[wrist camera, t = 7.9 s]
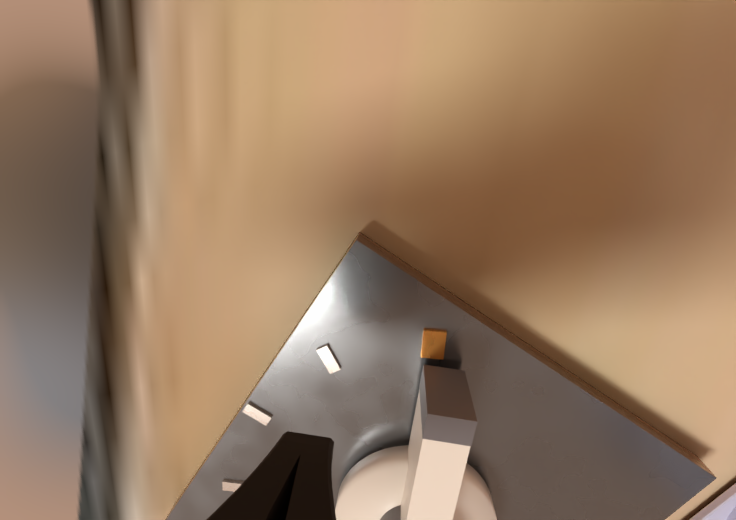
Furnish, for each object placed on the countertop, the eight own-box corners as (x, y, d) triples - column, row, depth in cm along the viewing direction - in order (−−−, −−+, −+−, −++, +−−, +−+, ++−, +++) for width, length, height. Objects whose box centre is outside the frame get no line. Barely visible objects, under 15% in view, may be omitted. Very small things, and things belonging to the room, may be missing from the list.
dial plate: (697, 456, 19) (719, 481, 18) (451, 662, 24) (454, 692, 23) (359, 232, 17) (355, 240, 16) (172, 507, 22) (158, 531, 21)
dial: (475, 577, 20) (488, 658, 17) (330, 552, 20) (317, 627, 17) (531, 378, 17) (560, 434, 14) (356, 351, 17) (346, 401, 14)
